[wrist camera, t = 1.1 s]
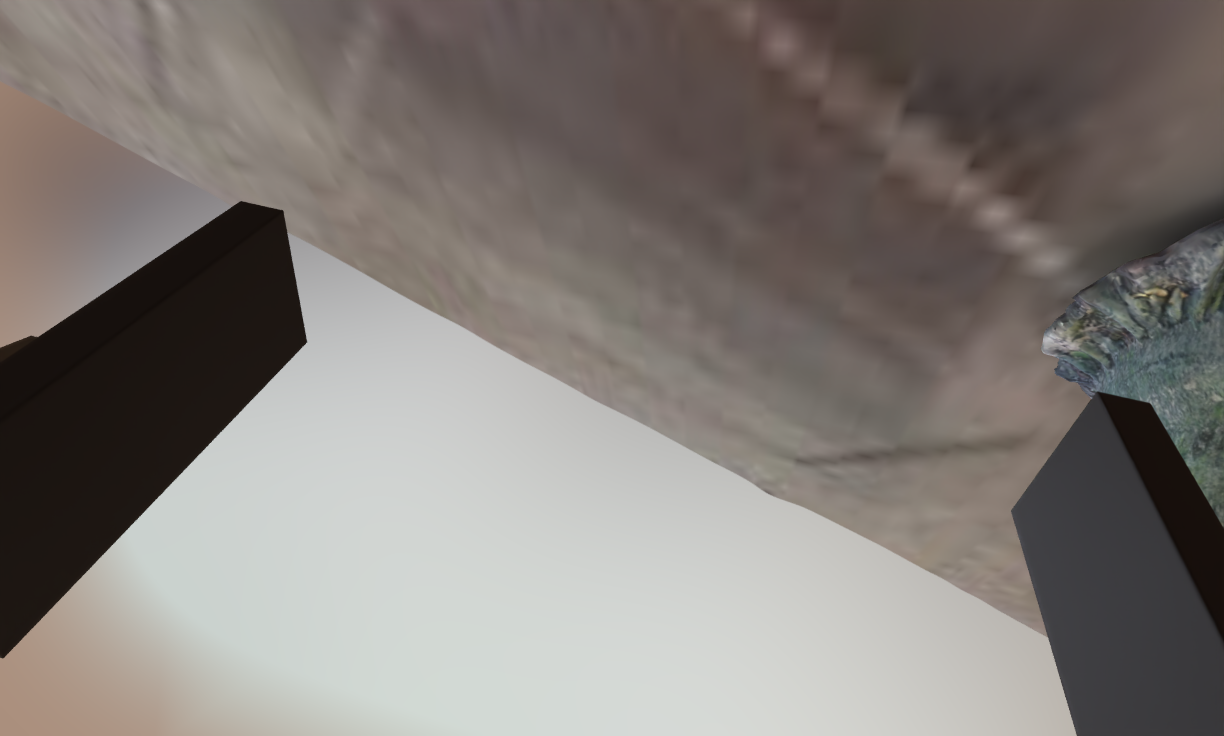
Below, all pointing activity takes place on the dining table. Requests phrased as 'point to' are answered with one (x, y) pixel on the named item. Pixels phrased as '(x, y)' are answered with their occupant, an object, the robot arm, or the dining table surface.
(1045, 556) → the robot arm
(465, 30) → the dining table surface
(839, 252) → the dining table surface
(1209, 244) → the tree stump
